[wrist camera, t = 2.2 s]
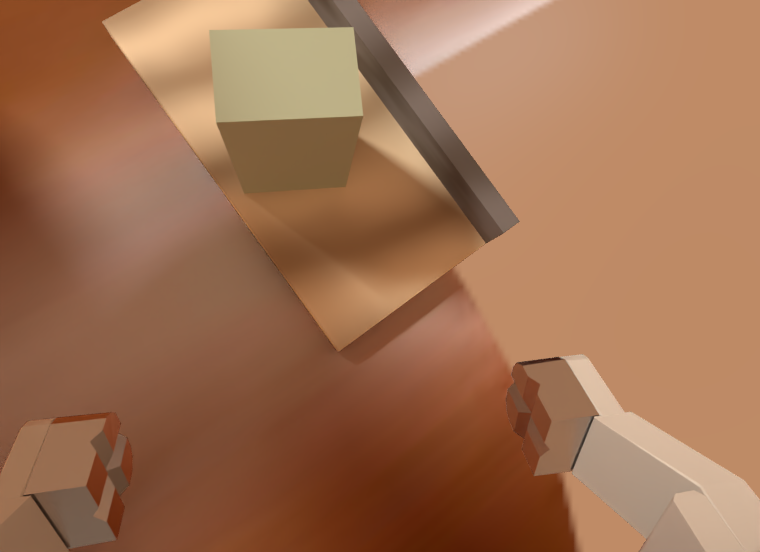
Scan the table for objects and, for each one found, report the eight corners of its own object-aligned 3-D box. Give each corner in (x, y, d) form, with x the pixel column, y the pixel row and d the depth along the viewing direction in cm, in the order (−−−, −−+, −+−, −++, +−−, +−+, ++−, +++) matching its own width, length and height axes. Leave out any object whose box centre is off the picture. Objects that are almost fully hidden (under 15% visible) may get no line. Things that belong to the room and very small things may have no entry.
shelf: (110, 36, 33) (80, -13, 28) (285, -59, 35) (282, -117, 31) (337, 351, 32) (342, 352, 28) (499, 232, 35) (527, 215, 30)
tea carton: (345, 186, 32) (363, 115, 22) (244, 193, 31) (216, 122, 21) (338, 120, 33) (352, 22, 23) (238, 124, 32) (208, 24, 22)
